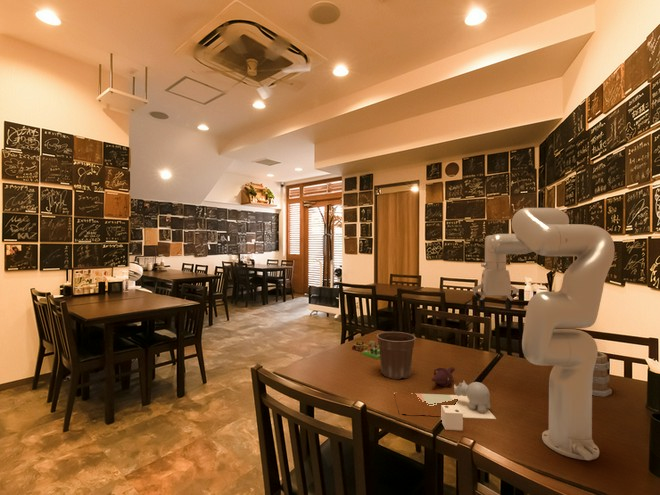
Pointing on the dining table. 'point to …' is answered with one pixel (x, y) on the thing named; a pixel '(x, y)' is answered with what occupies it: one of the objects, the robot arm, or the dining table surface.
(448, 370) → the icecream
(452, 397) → the game mat
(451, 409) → the die
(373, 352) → the toy garden set
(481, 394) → the round bodied animal figurine
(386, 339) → the plant pot
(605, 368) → the tankard
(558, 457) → the dining table surface
